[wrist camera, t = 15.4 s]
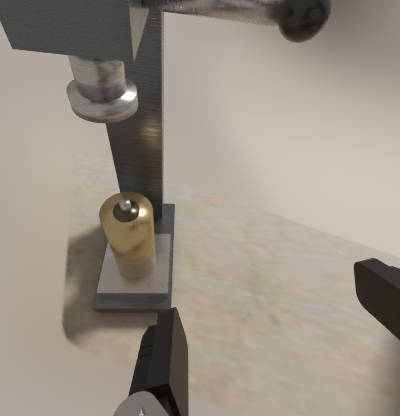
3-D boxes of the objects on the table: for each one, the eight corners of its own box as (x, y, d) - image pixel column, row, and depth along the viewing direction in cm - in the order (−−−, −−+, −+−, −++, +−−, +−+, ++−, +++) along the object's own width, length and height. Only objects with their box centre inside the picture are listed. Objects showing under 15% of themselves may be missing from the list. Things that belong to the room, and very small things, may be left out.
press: (224, 311, 35) (436, 40, 8) (95, 312, 33) (-218, -54, 6) (215, 212, 45) (293, -50, 18) (117, 208, 43) (43, -95, 16)
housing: (146, 239, 36) (139, 175, 25) (162, 268, 34) (161, 211, 23) (112, 254, 34) (88, 192, 23) (126, 286, 32) (106, 233, 21)
